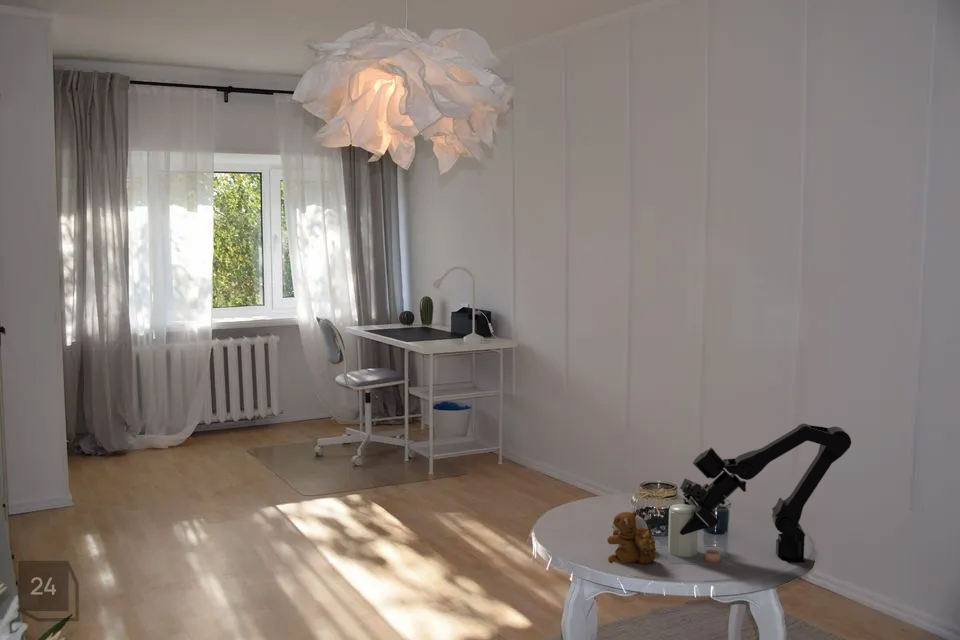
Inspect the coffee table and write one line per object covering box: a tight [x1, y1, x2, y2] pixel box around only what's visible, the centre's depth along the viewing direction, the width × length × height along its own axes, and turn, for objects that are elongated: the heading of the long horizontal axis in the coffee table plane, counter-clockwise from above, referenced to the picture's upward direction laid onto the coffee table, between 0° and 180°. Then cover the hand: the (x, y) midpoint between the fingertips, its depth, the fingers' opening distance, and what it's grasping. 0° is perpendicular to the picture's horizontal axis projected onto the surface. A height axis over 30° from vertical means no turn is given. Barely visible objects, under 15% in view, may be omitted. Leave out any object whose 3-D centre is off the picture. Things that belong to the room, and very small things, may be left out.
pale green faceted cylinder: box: [667, 503, 699, 557], centre depth 249 cm, size 7×7×12 cm
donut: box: [612, 514, 649, 532], centre depth 254 cm, size 10×4×10 cm, turn 67°
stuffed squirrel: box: [606, 511, 658, 564], centre depth 243 cm, size 10×14×13 cm
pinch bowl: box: [705, 549, 720, 564], centre depth 243 cm, size 4×4×2 cm
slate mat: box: [661, 545, 734, 567], centre depth 247 cm, size 17×14×1 cm
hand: (677, 529), depth 249 cm, fingers closed on pale green faceted cylinder, 7 cm apart
